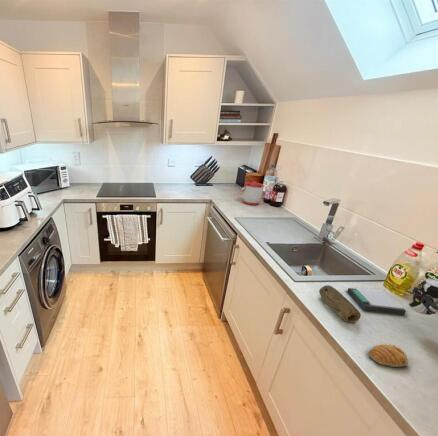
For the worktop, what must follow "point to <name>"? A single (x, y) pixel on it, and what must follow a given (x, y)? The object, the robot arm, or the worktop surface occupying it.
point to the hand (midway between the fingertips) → (419, 288)
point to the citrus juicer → (252, 192)
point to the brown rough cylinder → (339, 304)
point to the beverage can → (425, 287)
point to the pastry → (389, 355)
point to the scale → (375, 301)
